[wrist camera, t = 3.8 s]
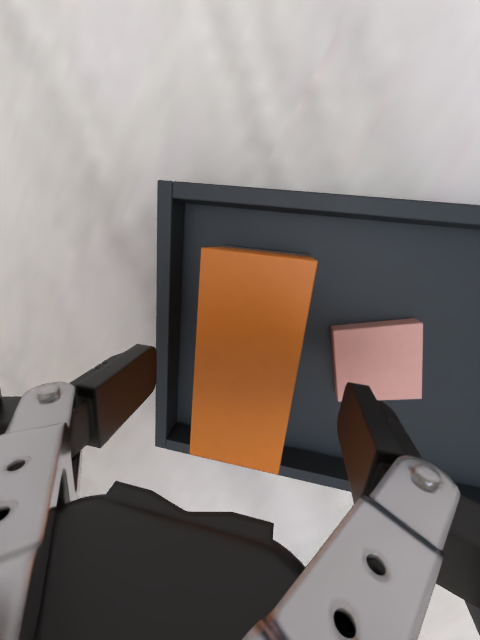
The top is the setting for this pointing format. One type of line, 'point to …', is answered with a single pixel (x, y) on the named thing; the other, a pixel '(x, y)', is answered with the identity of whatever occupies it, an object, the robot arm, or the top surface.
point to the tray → (334, 311)
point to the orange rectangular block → (248, 352)
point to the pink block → (379, 357)
